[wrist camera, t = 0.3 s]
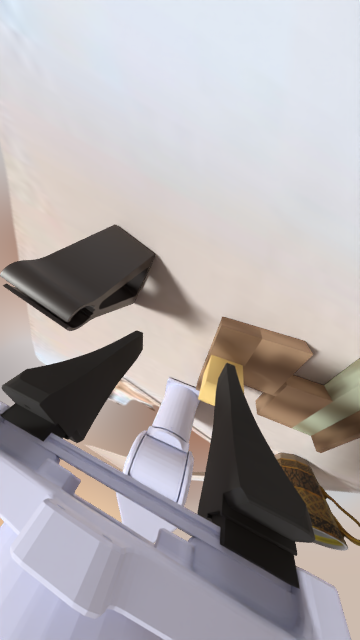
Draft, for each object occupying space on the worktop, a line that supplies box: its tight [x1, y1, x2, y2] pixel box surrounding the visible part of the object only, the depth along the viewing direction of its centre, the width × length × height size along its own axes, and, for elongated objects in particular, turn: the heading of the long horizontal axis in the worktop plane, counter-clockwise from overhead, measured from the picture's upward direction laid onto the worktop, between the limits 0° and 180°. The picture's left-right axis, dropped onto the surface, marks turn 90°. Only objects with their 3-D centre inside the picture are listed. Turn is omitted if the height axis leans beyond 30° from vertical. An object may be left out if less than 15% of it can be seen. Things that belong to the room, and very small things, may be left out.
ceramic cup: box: [274, 453, 360, 550], centre depth 29 cm, size 13×10×10 cm
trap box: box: [196, 317, 360, 453], centre depth 21 cm, size 15×20×4 cm
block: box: [198, 355, 244, 406], centre depth 20 cm, size 4×4×4 cm
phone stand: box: [0, 225, 155, 331], centre depth 16 cm, size 9×6×12 cm, turn 148°
